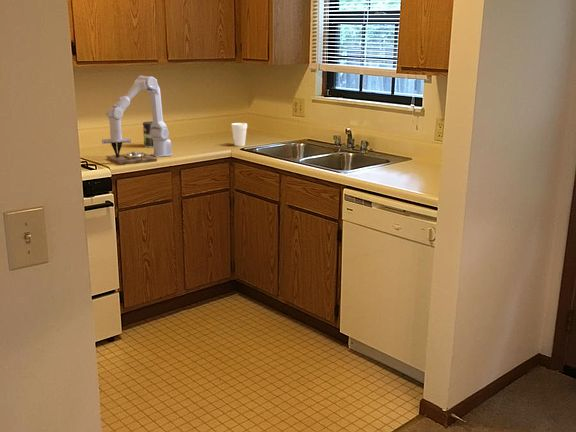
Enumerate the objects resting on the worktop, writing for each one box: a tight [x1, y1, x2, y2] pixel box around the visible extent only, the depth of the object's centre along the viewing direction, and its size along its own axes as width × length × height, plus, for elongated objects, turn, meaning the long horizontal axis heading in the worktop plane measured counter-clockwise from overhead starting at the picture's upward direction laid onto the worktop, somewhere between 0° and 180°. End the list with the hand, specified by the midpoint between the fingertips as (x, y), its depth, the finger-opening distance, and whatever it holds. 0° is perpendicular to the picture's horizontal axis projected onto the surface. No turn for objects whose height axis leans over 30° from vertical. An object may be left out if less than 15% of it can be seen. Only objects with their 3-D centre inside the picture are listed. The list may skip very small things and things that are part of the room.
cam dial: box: [124, 151, 144, 159], centre depth 327 cm, size 14×10×3 cm
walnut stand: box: [106, 152, 158, 166], centre depth 327 cm, size 20×20×4 cm
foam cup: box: [231, 122, 248, 147], centre depth 373 cm, size 10×9×13 cm
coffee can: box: [142, 120, 153, 149], centre depth 367 cm, size 10×10×14 cm
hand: (117, 157), depth 320 cm, fingers closed
